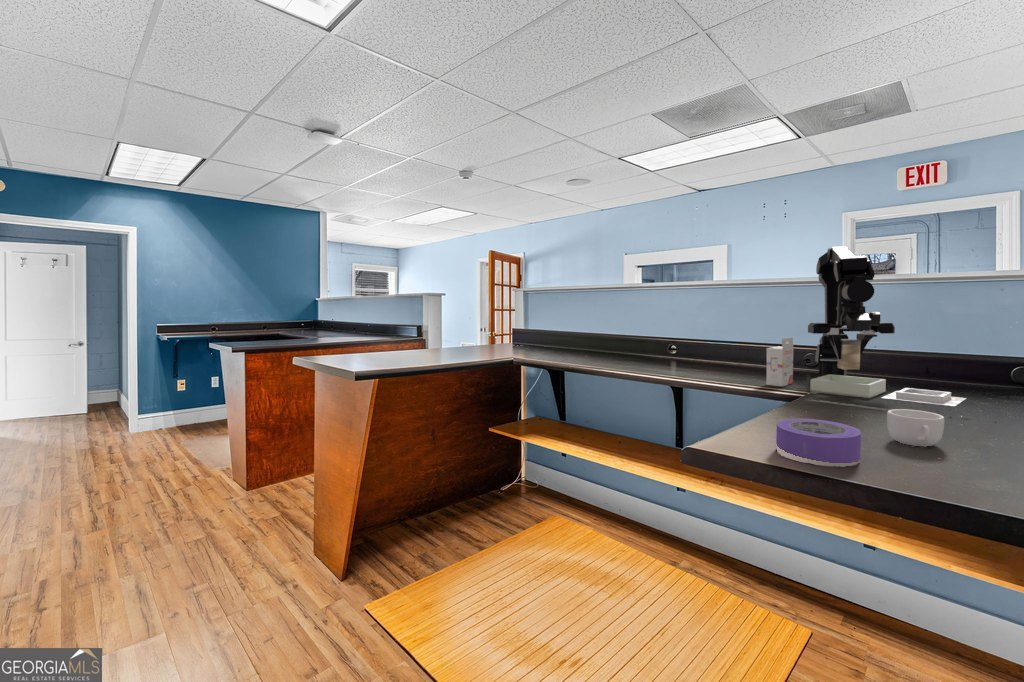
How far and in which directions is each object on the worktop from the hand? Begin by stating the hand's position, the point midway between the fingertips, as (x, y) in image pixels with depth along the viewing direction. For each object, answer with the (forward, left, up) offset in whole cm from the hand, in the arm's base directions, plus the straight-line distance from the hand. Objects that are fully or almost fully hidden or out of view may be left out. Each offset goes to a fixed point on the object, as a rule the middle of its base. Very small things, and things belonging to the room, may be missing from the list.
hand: (848, 359), depth 128 cm
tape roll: (+15, -65, -10) cm, 68 cm away
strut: (0, 0, -3) cm, 3 cm away
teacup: (+24, -46, -10) cm, 53 cm away
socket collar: (+16, +3, -10) cm, 18 cm away
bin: (0, 0, -10) cm, 10 cm away
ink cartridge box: (-19, +3, -10) cm, 22 cm away
